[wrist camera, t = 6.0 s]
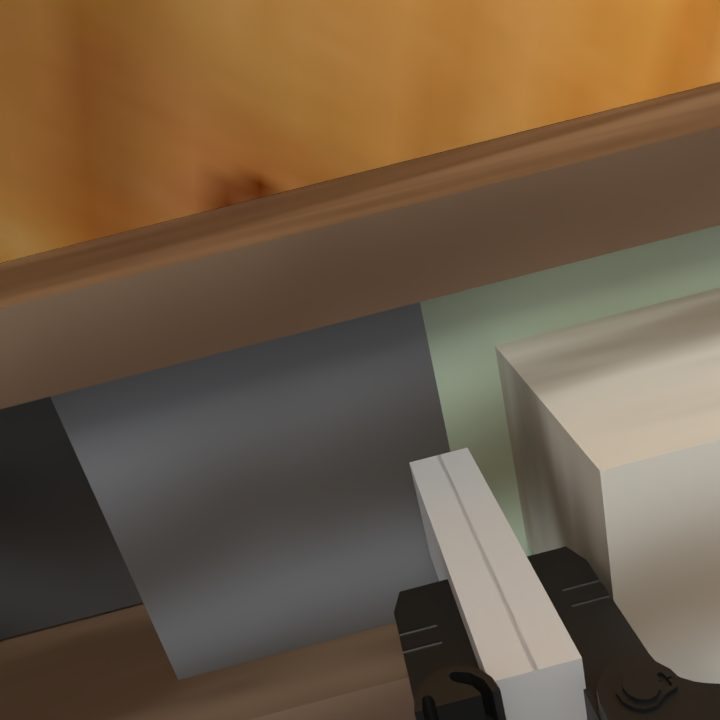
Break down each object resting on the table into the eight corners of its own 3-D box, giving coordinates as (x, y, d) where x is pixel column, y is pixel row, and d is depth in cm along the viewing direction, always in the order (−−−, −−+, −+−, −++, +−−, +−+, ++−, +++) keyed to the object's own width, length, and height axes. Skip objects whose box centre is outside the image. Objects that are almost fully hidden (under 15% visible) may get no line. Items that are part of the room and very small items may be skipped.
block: (494, 345, 17) (599, 470, 11) (727, 285, 17) (942, 380, 12) (526, 538, 19) (626, 721, 14) (731, 485, 19) (912, 644, 14)
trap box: (-305, 340, 19) (-550, 447, 13) (1026, 4, 19) (1326, -28, 14) (-68, 704, 24) (-170, 888, 19) (968, 430, 25) (1167, 530, 19)
